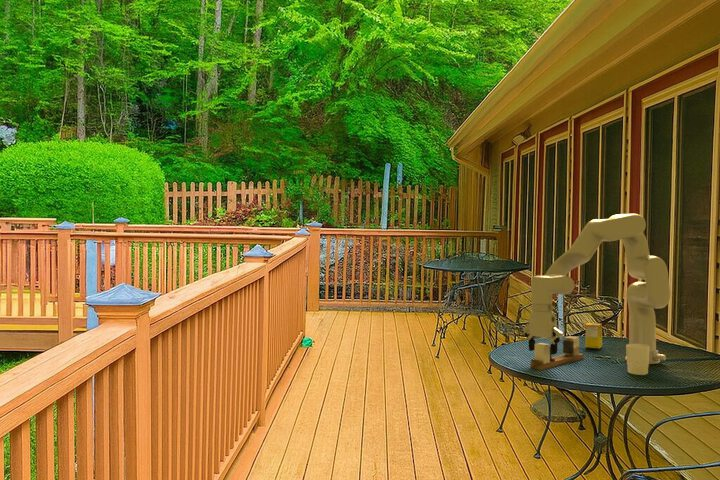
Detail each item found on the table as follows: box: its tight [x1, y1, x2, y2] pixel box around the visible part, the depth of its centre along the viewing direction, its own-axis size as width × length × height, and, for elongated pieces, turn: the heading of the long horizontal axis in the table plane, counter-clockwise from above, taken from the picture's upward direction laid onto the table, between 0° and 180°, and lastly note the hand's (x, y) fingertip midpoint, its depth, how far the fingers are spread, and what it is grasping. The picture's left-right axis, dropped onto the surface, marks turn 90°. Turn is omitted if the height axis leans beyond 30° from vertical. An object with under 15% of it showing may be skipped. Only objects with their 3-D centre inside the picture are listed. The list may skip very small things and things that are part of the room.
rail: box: [530, 335, 585, 371], centre depth 234 cm, size 5×29×9 cm, turn 128°
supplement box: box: [584, 322, 603, 351], centre depth 261 cm, size 6×6×11 cm
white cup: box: [625, 343, 650, 376], centre depth 217 cm, size 8×8×10 cm
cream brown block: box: [534, 342, 553, 364], centre depth 227 cm, size 4×5×7 cm
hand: (542, 352), depth 227 cm, fingers open, 9 cm apart
